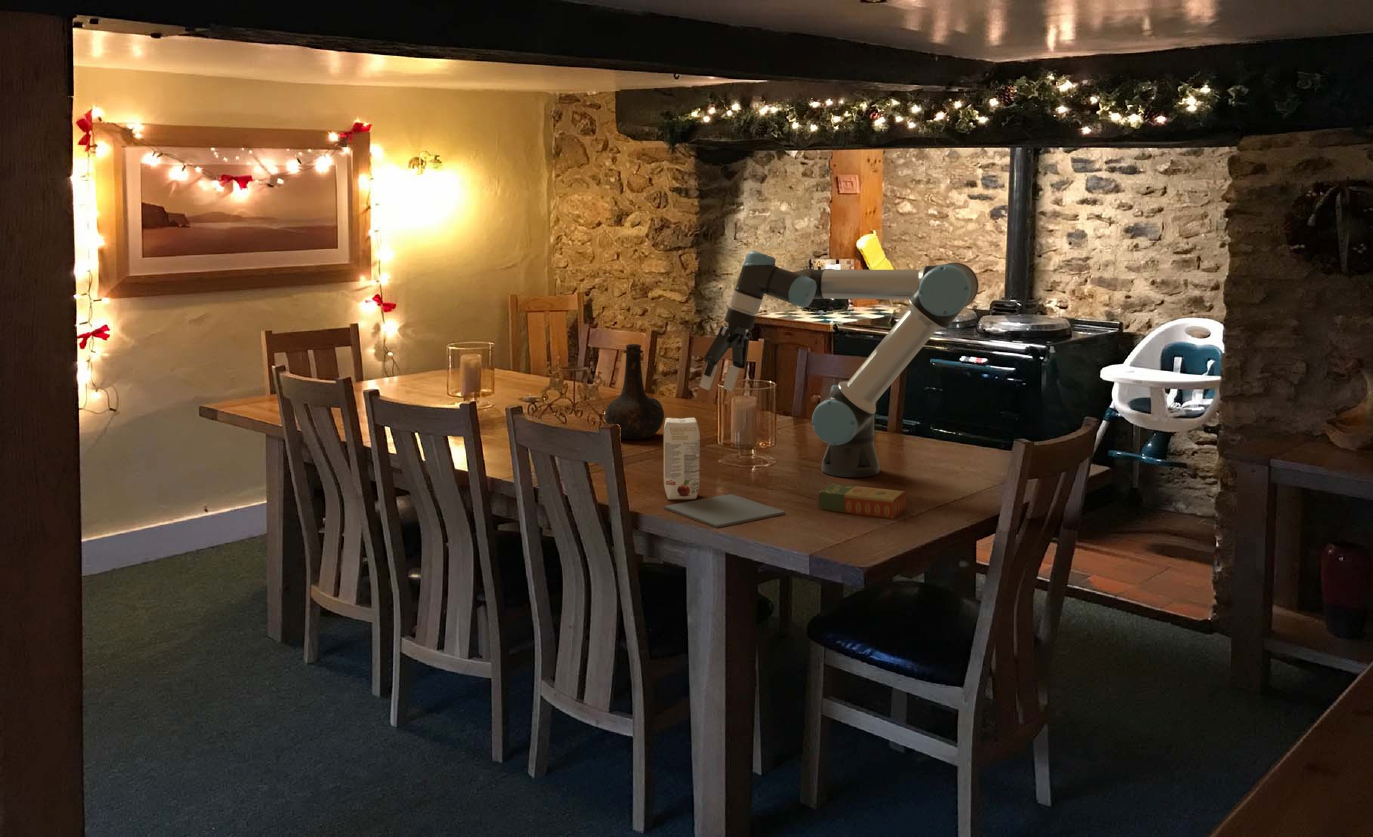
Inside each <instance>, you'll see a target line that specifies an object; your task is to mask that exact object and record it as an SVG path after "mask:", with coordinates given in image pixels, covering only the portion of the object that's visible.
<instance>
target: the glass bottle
mask: <svg viewBox="0 0 1373 837" xmlns="http://www.w3.org/2000/svg"><path fill="white" fill-rule="evenodd" d="M641 347H642V344H637V343H636V344H633V343H630V344H629V343H628V344H626V345H625V350H623V351H622V352H623V354H625V369H624V378H623V385H622V389H621V392H620V395H619V396H618V397H617V398H615V399H613V400H612V401H610V402H609V404H608V405H607V407H606V409H605V412H604V413H605V414H604V418H605V419H604V420H605V424H606V425H607V424H619V425H620V427H621V437H620V438H622V439H625V440H643V439H648V438H651V437H652V436H654V435H656V434H657V432H659V430H660V429H661V427H662V426H663V423H664V422H665V412H664V409H663V406H662V403H661V402H660V401H659V400H658V399H657V398H654V397H650V396H648V395H647V394H646V392H645V387H644V381H643V380H644V379H643V373H642V371H643V370H642V356H641V354H643V353H644V352H645V351H644V350H642V349H641Z"/></svg>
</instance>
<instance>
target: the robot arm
mask: <svg viewBox="0 0 1373 837" xmlns="http://www.w3.org/2000/svg"><path fill="white" fill-rule="evenodd" d="M776 261H777V260H776V258H775V257H773V256H770V255H767V254H765V253H762V252H758V251H757V250H750V251H748V253H747V254H746V257H745V259H744V262H743V264H742V266H741V269H740V273H739V275H738V279H737V282H736V285H735V287H734V288H735V289H734V291H733V293H732V294H731V299H730V306H731V307H729V308H728V309H727V311H726V314H725V317H724V321H725V322H726V323H728V325H727V326H724V325H721V326H720V328H719V331H718V333H717V335H716V336H715V339H714V340H713V342H712V343H711V345H710V347H709V348H708V350H707V352H706V353H705V355H704V358H703V361H704V362H705V363H706V366H705V369H704V371H703V374H702V377H701V380H700V383H699V385H698V386H699V388H702V389H704V390H706V391H710V389H711V387H712V384H713V381H714V377H715V375H716V372H717V368H718V365H717V364H718V363H719V362H720V360H722V358H723V356H725V354H726V352H728V350H729V349H731V353H732V354H731V356H732V358H731V359H732V364H730V365H729V367H728V371H727V375H726V376H725V379H724V382H723V386H722V389H723V390H726V391H728V392H731V393H732V392H733V391H734V388H735V385H736V382H737V379H738V377H739V373H740V371H741V369H742V370H745V368H746V365H747V363H748V353H749V352H748V351H749V346H750V339H751V335H752V332H751V331H752V329H753V328H754V325H755V322H756V320H757V317H756V315H758V314H759V311H760V308H761V305H762V302H763V299H764V296H765V295H766V296H770V297H773V298H775V299H777V300H781V301H783V302H786V303H788V304H792V306H798V307H801V308H807V307H809V306H810V305H811V304H812V302H813V300H815V299H818V300H821V299H822V300H823V299H825V300H826V299H827V300H828V299H831V300H833V299H835V300H836V299H837V300H838V299H839V300H841V299H842V300H844V299H845V300H895V301H896V300H899V301H901V300H902V301H903V300H907V301H908V306H909V307H908V308H907V310H906V311H905V312H904V313H903V314H902V316H901V317H900V318H899V319H898V321H897V322H896V323H895V325H893V327H892V328H891V329H890V330H889V332H888V333H887V334H886V335H885V336H884V338H883V339H881V341H880V343H878V345H877V346H876V347H875V349H874V350H873V351H872V352H871V353H870V354H869V355H868V357H867V358H866V359H865V360H864V362H863V363H862V364H861V366H860V367H859V368H858V369H857V370H856V372H854V374H853V375H852V376H851V378H849V380H846V381H839V382H838V384H833V385H832V386H831V387H830V390H829V391H830V392H829V394H828V396H826V398H825V399H824V400H823V401H821V402H820V403H819V404H817V406H816V407H815V409H814V411H813V413H812V416H811V426H812V429H813V432H814V433H815V435H816V436H817V437H818V438H819V439H820V440H821V441H822V442H824V443H826V444H827V447H826V449H825V452H824V456H823V458H822V461H821V471H822V472H823V473H825V474H827V475H829V476H834V477H841V478H867V477H872V476H876V475H878V474H879V473H880V462H879V458H878V455H877V451H876V448H875V445H874V444H875V443H874V440H875V437H874V435H875V413H876V411H877V408H876V407H877V406H876V403H877V401H878V400H879V399H880V398H881V397H882V395H883V394H884V393H885V392H886V391H887V390H888V388H889V387H890V386H891V385H892V384H893V383H894V381H895V380H896V379H897V378H898V377H899V375H900V374H902V373H903V371H904V370H905V368H906V367H907V366H908V365H909V364H910V363H911V361H912V360H913V359H914V358H915V357H916V355H918V353H919V352H920V351H921V349H922V348H923V347H924V346H925V344H926V343H927V342H928V341H929V340H930V339H931V337H933V335H934V334H935V333H936V332H937V331H939V330H947V329H948V328H949V326H950V325H951V323H952V322H953V321H954V320H956V318H957V317H958V316H959V314H960V313H961V312H962V311H963V310H964V308H966V307H968V306H969V305H971V304H972V303H973V302H974V300H975V299H976V297H977V295H978V291H979V288H980V287H979V280H978V277H977V276H978V275H977V274H976V273H975V271H974V270H973V269H972V268H971V267H970V266H968V265H966V264H965V263H961V262H949V263H944V264H939V265H938V264H937V265H925V266H923V268H922V269H814V268H803V269H801V270H797V271H790V270H789V269H788V270H787V269H785V268H781V267H778V266H777V265H776Z"/></svg>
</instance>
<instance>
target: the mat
mask: <svg viewBox="0 0 1373 837" xmlns="http://www.w3.org/2000/svg"><path fill="white" fill-rule="evenodd" d="M663 506H664V507H663V509H664V510H667V511H668V512H669V511H670V512H672V513H674V514H678V515H680V516H684V517H686V518H688V519H691V520H694V521H697V522H700V523H701V524H704V525H708V526H710V527H713V528H716V529H718V528H721V527H727V526H733V525H738V524H742V523H748V522H753V521H758V520H762V519H769V518H772V517H777V516H782V515H786V510H783V509H779V508H776V507H772V506H769V505H768V504H767V505H766V504H763V503H760V502H757V501H754V500H751V499H748V498H745V497H742V496H739V495H736V494H734V493H733V494H732V493H729V494H723V495H718V496H713V497H708V498H707V497H706V498H702V499H694V500H691V501H690V500H689V501H685V502H679V503H674V504H668V505H663Z"/></svg>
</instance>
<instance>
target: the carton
mask: <svg viewBox="0 0 1373 837" xmlns="http://www.w3.org/2000/svg"><path fill="white" fill-rule="evenodd" d="M906 497H907V496H906V491H905V490H898V489H889V488H888V489H887V488H879V487H868V486H860V485H852V484H841V483H834V482H832V483H831V484H829V485H828V486H826V487H825V488H823V489H821V490H819V492H818V499H817V506H818V509H819V510H822V511H823V510H825V511H826V510H827V511H833V512H840V513H841V512H842V513H848V514H853V515H854V514H856V515H862V516H863V515H865V516H871V517H880V518H886V519H895V517H897V516H898V515H899V514H901V513H902V512H904V511H905V510H906Z"/></svg>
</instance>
